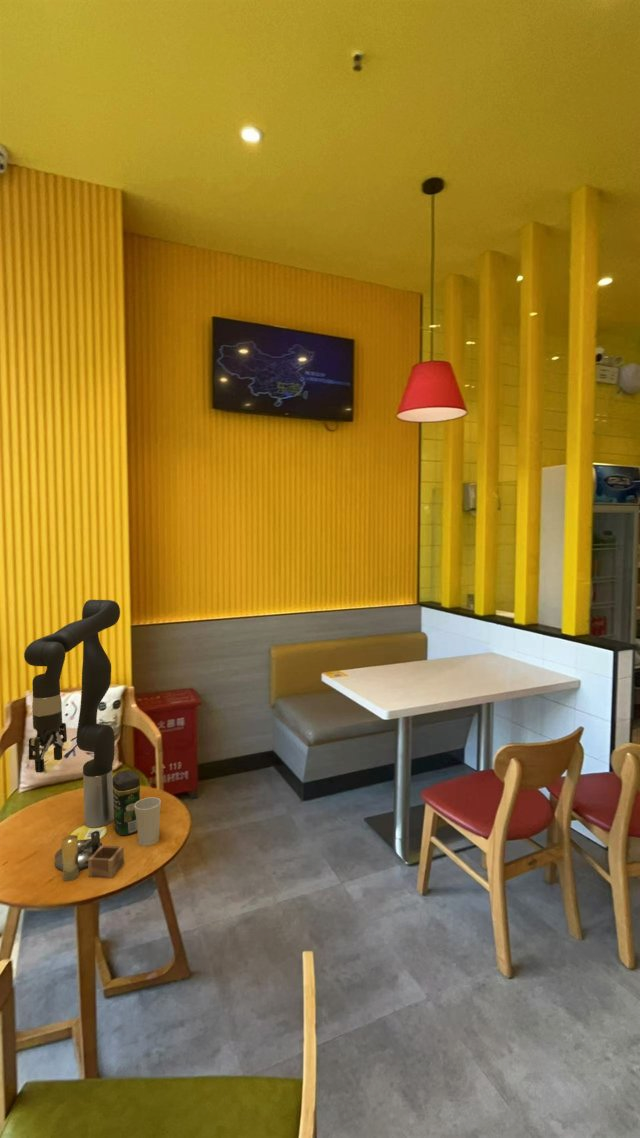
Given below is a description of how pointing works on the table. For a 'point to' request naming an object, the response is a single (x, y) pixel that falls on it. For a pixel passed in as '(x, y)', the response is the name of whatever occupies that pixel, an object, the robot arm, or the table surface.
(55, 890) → the table surface
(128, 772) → the coffee jar
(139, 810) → the cup
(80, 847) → the axle cap
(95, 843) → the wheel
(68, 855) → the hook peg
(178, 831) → the table surface
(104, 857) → the block
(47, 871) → the table surface
